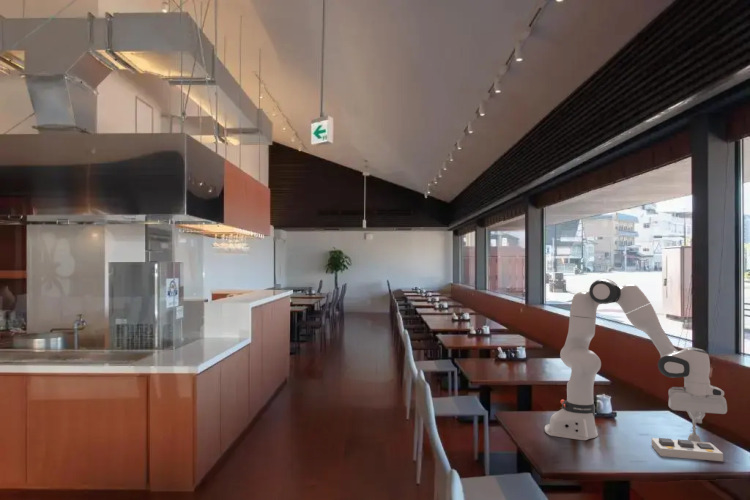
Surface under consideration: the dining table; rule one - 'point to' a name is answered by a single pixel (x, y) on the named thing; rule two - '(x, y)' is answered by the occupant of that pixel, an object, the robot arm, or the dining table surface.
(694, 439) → the chalice
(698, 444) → the button right
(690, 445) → the button middle
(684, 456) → the panel
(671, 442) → the button left
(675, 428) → the dining table surface
